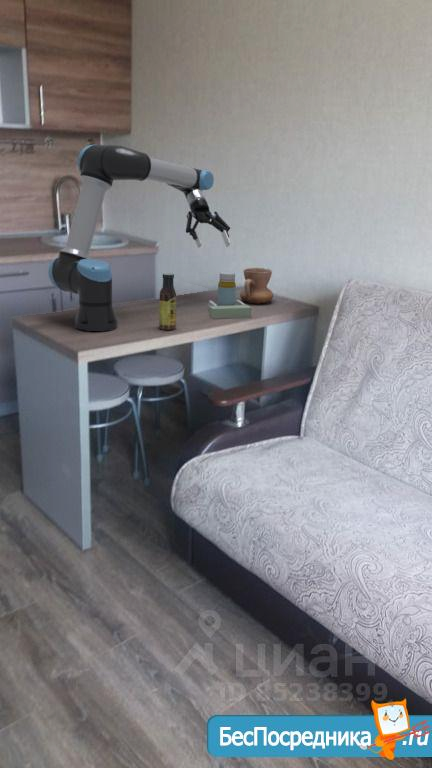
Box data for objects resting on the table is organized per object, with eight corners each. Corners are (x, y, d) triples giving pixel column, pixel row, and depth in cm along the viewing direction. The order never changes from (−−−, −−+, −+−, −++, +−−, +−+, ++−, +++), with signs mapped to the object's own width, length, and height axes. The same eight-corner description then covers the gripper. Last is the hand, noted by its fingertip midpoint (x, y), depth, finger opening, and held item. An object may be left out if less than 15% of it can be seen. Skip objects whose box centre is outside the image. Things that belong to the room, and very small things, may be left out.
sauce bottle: (173, 331, 217) (174, 276, 210) (156, 329, 218) (156, 274, 211) (178, 326, 223) (179, 273, 216) (161, 325, 224) (162, 271, 217)
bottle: (215, 307, 247) (217, 271, 242) (232, 307, 249) (234, 271, 243) (219, 312, 241) (220, 274, 236) (236, 311, 242) (237, 274, 237)
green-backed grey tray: (212, 318, 235) (212, 308, 234) (203, 310, 247) (203, 300, 245) (251, 317, 239) (251, 307, 238) (240, 309, 251) (241, 299, 250)
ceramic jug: (253, 296, 276) (254, 265, 271) (280, 301, 268) (282, 269, 263) (230, 303, 263) (231, 270, 257) (258, 308, 255) (259, 275, 249)
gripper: (219, 210, 263) (236, 250, 256) (168, 209, 250) (184, 251, 243) (226, 198, 257) (243, 238, 250) (174, 197, 244) (191, 239, 237)
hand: (214, 245), depth 246 cm, fingers open, 13 cm apart
